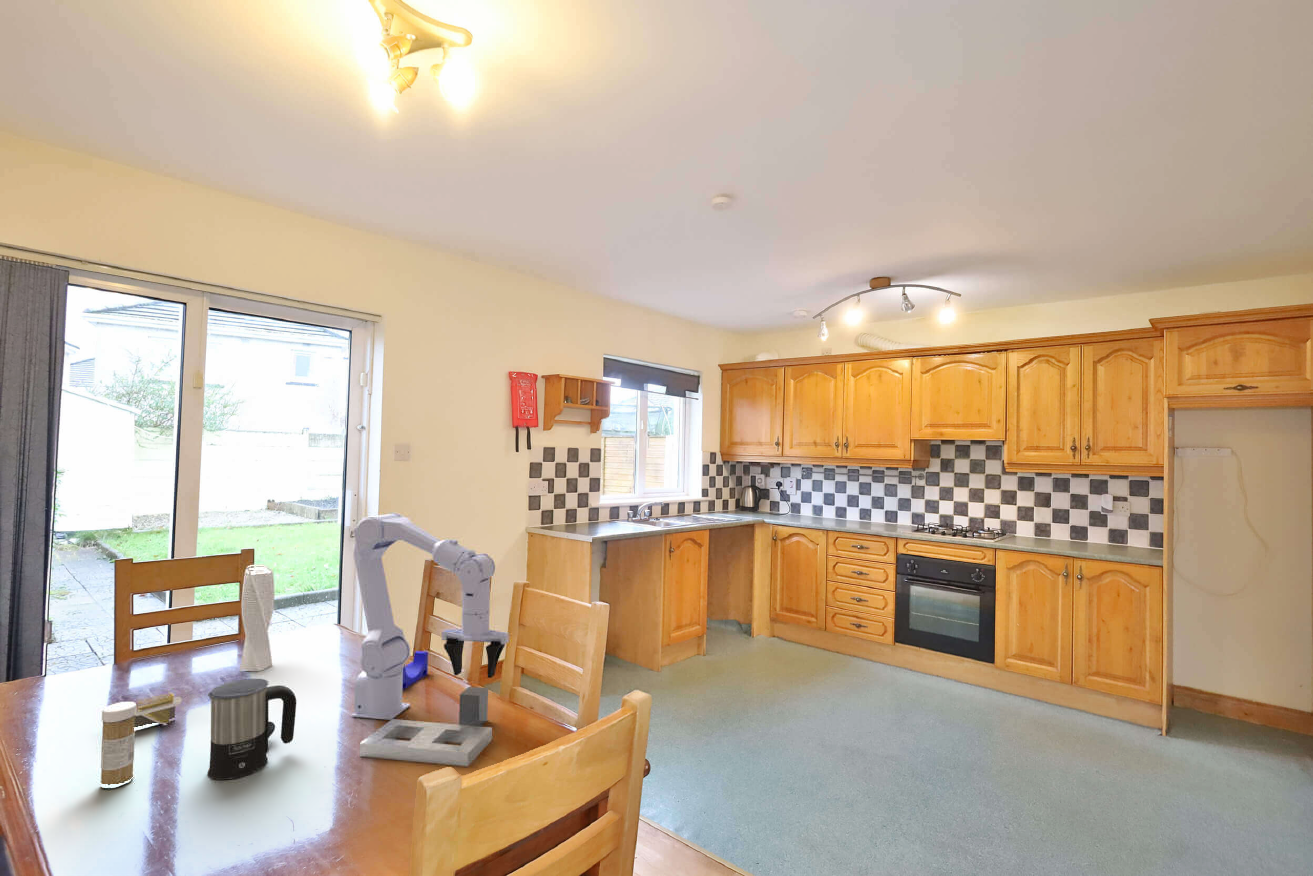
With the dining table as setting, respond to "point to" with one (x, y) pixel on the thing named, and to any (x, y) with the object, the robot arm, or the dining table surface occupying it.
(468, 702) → the upright grey block
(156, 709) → the platform
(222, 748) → the milk frother
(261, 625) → the skyscraper
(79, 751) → the dining table surface
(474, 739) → the grey flat slab
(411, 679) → the cable clip
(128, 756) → the sprinkles bottle
